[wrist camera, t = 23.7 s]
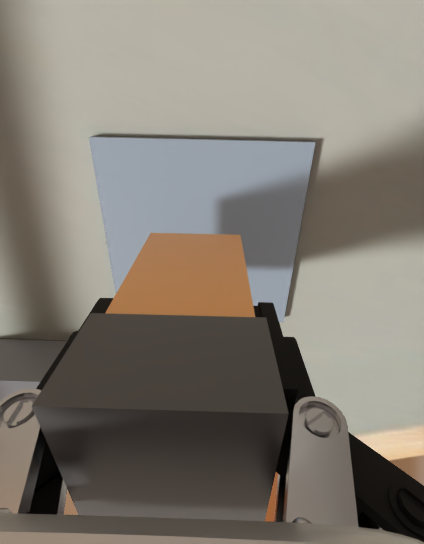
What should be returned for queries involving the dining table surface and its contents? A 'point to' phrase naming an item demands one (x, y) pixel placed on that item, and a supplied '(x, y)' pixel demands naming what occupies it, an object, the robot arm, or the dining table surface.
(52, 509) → the robot arm
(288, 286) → the mat
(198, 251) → the plug
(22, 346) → the socket
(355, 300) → the dining table surface
